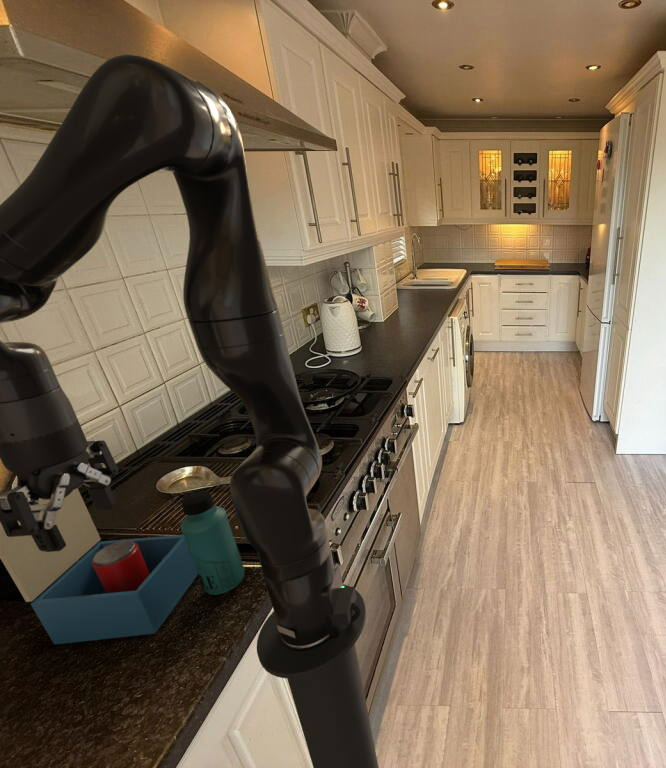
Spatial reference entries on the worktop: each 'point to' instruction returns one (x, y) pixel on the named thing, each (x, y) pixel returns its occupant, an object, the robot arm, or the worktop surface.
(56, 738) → the worktop surface
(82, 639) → the cool box
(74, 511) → the lid
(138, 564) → the can
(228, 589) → the beverage bottle
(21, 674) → the worktop surface
